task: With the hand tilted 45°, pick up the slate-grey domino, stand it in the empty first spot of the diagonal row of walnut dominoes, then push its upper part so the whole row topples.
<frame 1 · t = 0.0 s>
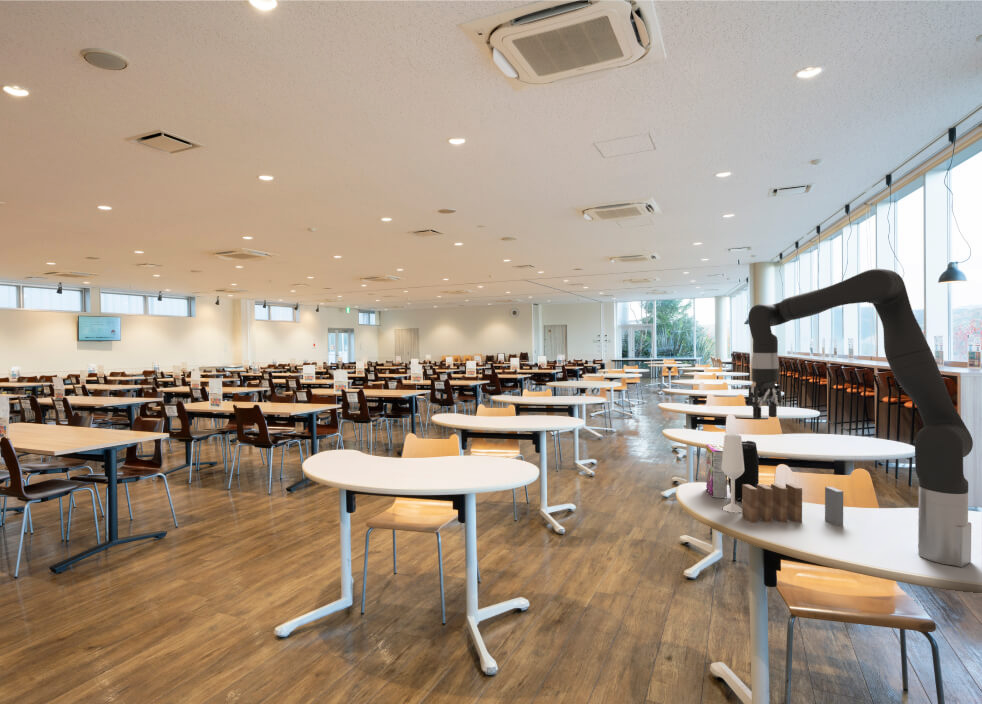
hand: (765, 417, 166), 29 cm above the table, tool pointing down, fingers open, 8 cm apart
walnut domino 3: (764, 519, 158), on the table
walnut domino 1: (793, 518, 158), on the table
walnut domino 4: (749, 519, 158), on the table
grey domino: (833, 522, 154), on the table
candy bar box: (716, 494, 184), on the table
walnut domino 2: (779, 519, 158), on the table
champagne flute: (732, 510, 167), on the table
portable speaker: (743, 499, 178), on the table
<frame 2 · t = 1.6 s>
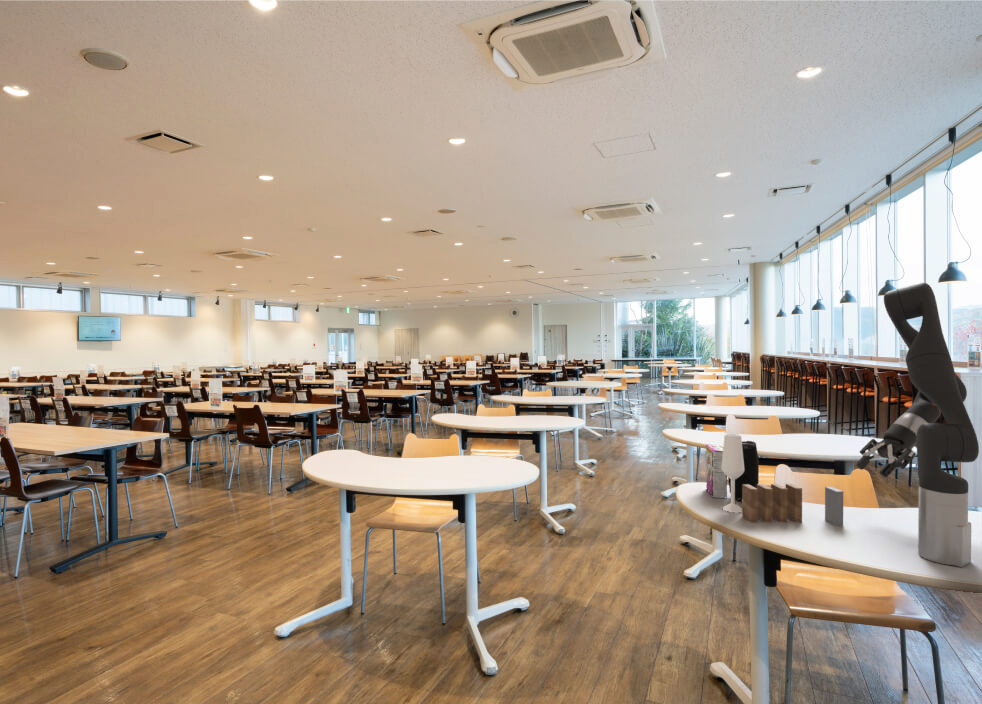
hand: (870, 471, 154), 15 cm above the table, tool tilted 45°, fingers open, 8 cm apart
nothing on the table moved.
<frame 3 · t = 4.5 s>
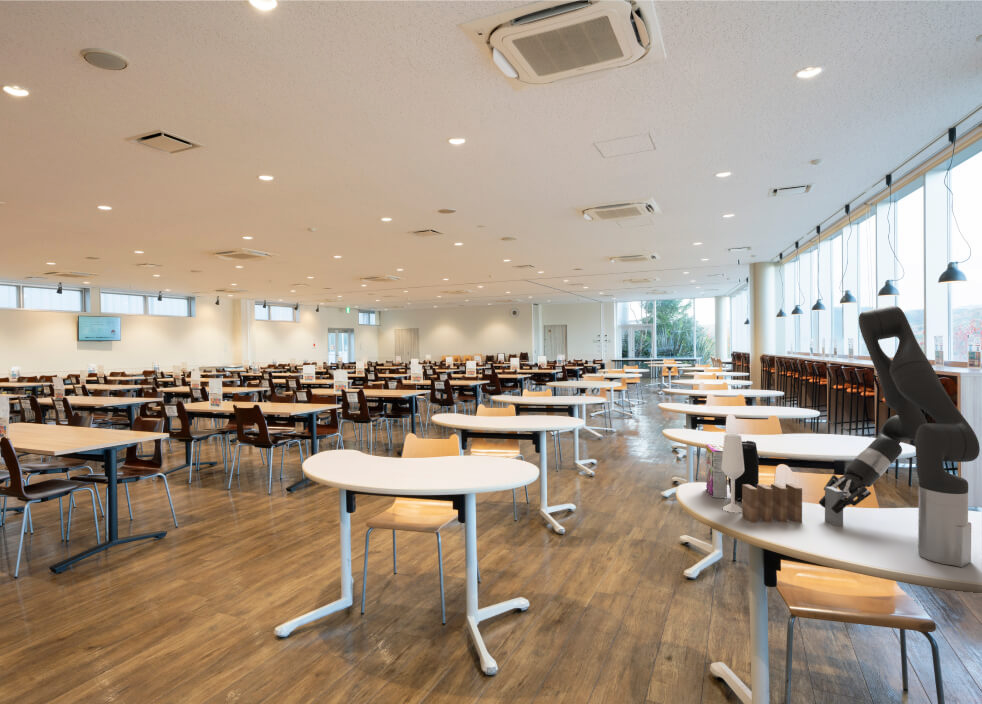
hand: (827, 508, 154), 4 cm above the table, tool tilted 45°, fingers closed on grey domino, 5 cm apart
grey domino: (833, 522, 154), on the table, touching gripper
everything else where it was.
when the fingers open (5 cm above the table, at t = 9.6 s): grey domino stays where it is, on the table.
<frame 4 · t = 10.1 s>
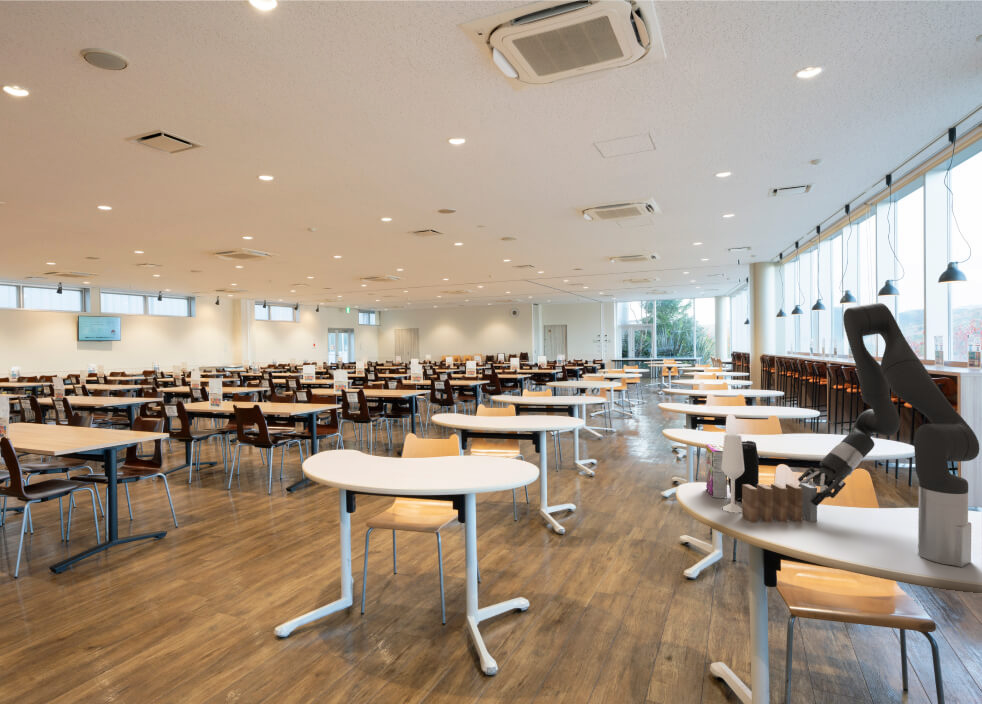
hand: (803, 499, 158), 6 cm above the table, tool tilted 45°, fingers open, 8 cm apart
grey domino: (808, 518, 158), on the table
everything else where it was.
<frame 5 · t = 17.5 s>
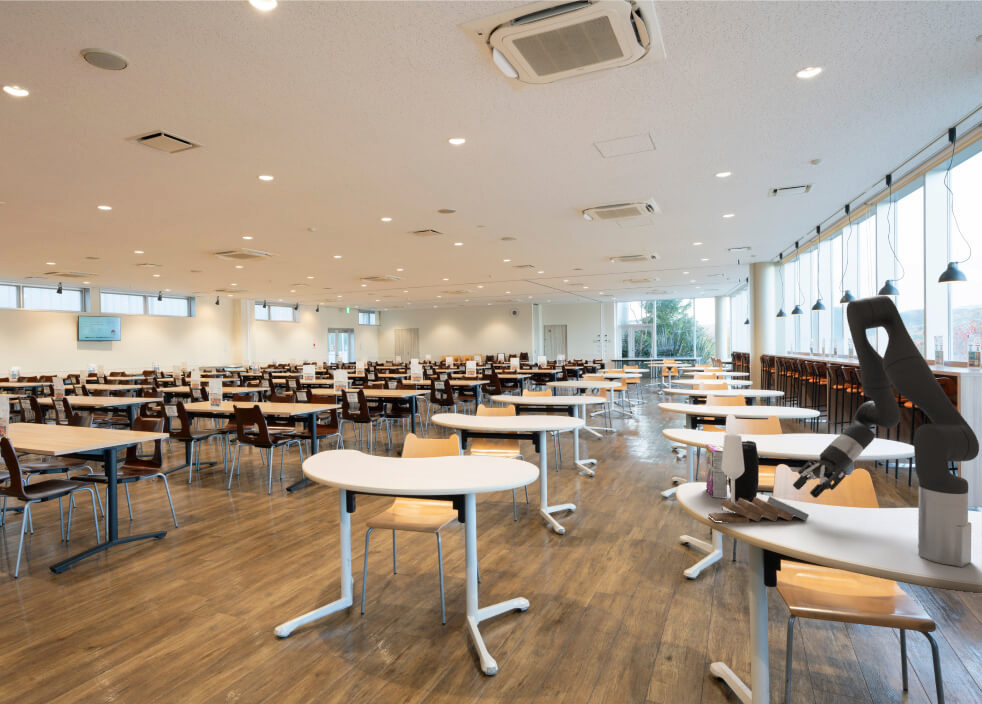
hand: (803, 491, 158), 8 cm above the table, tool tilted 45°, fingers open, 8 cm apart
walnut domino 3: (755, 516, 158), point 1 cm above the table, tilted 67°, touching walnut domino 2, walnut domino 4
walnut domino 1: (787, 515, 158), point 1 cm above the table, tilted 65°, touching grey domino, walnut domino 2
walnut domino 4: (745, 518, 157), on the table, tilted 90°, touching walnut domino 3
grey domino: (802, 515, 158), point 1 cm above the table, tilted 65°, touching walnut domino 1
walnut domino 2: (772, 515, 158), point 1 cm above the table, tilted 66°, touching walnut domino 1, walnut domino 3
everything else where it was.
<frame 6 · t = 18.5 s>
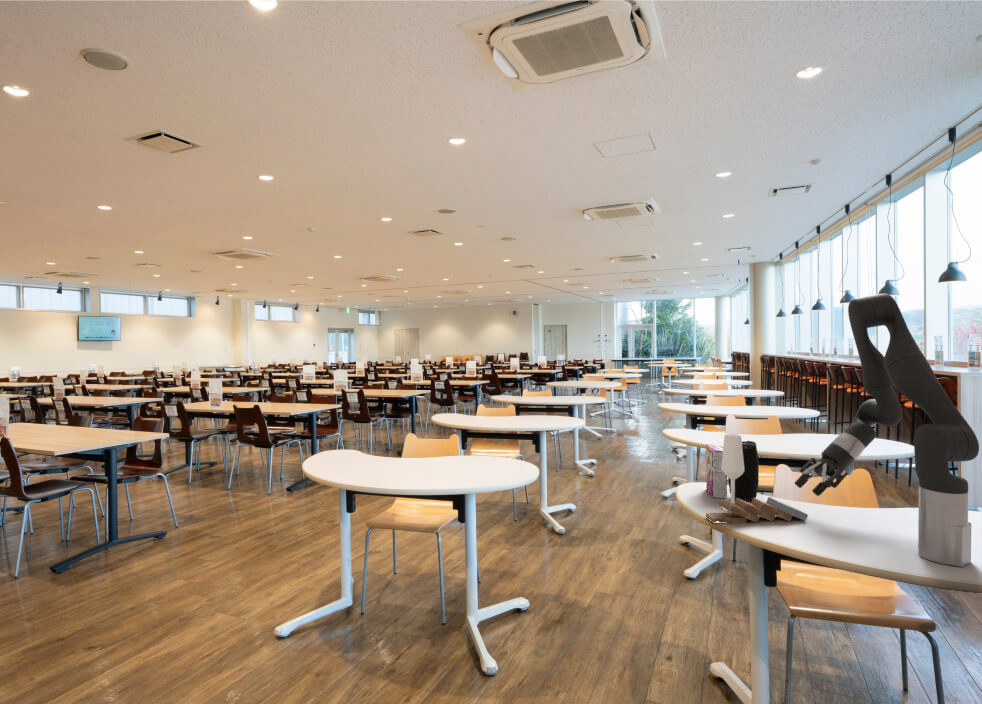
hand: (805, 489, 158), 9 cm above the table, tool tilted 45°, fingers open, 8 cm apart
walnut domino 3: (753, 516, 157), point 1 cm above the table, tilted 66°, touching walnut domino 2, walnut domino 4
walnut domino 1: (786, 515, 158), point 1 cm above the table, tilted 66°, touching grey domino
grey domino: (801, 515, 158), point 1 cm above the table, tilted 66°, touching walnut domino 1
walnut domino 2: (769, 515, 158), point 1 cm above the table, tilted 66°, touching walnut domino 3
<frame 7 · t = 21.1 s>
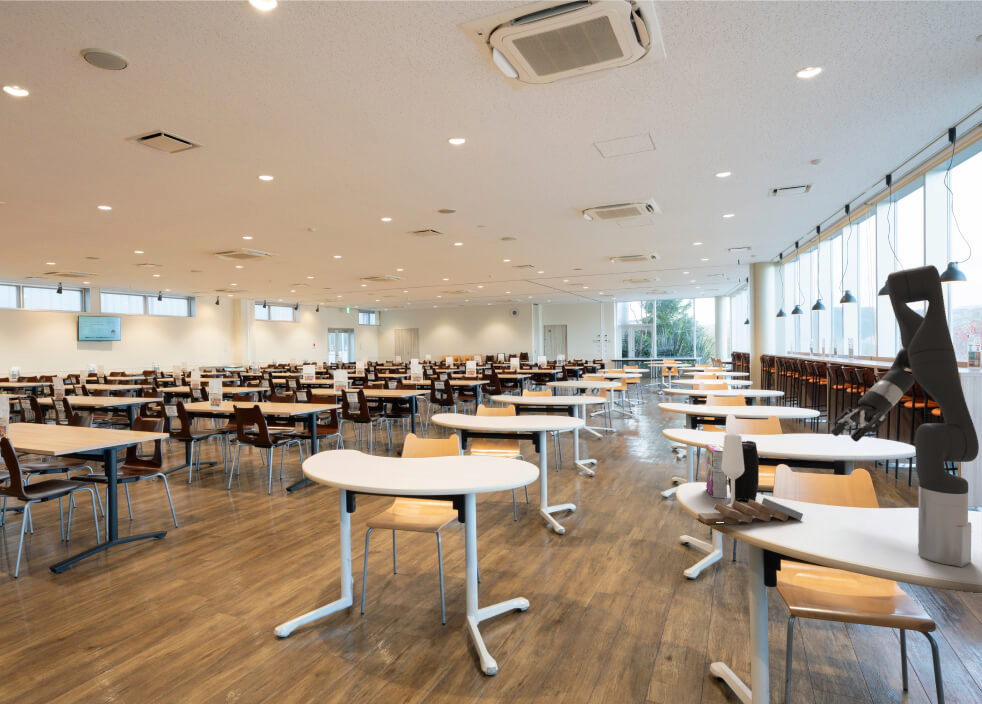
hand: (843, 436, 158), 25 cm above the table, tool tilted 45°, fingers open, 8 cm apart
walnut domino 3: (745, 516, 155), point 2 cm above the table, tilted 71°, touching walnut domino 2
walnut domino 1: (781, 515, 158), point 1 cm above the table, tilted 68°, touching grey domino, walnut domino 2
walnut domino 4: (734, 518, 156), point 1 cm above the table, tilted 90°
grey domino: (796, 514, 159), point 1 cm above the table, tilted 67°, touching walnut domino 1
walnut domino 2: (763, 515, 157), point 1 cm above the table, tilted 68°, touching walnut domino 1, walnut domino 3
everything else where it was.
at the end: walnut domino 4 tilted 90°; grey domino tilted 67°; grey domino inside the target area (1.8 cm from its centre), point 1.0 cm above the table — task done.
